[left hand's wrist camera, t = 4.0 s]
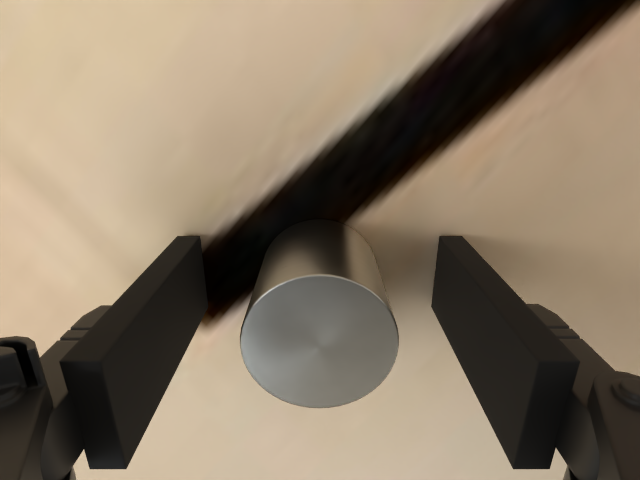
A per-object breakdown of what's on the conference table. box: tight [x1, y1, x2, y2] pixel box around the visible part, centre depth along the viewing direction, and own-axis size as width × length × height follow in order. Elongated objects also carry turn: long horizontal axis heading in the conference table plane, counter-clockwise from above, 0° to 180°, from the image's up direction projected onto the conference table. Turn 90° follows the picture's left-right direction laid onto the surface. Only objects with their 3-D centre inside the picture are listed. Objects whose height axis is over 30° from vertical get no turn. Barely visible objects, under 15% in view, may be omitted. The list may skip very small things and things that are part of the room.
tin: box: [240, 219, 399, 408], centre depth 12 cm, size 4×4×4 cm
